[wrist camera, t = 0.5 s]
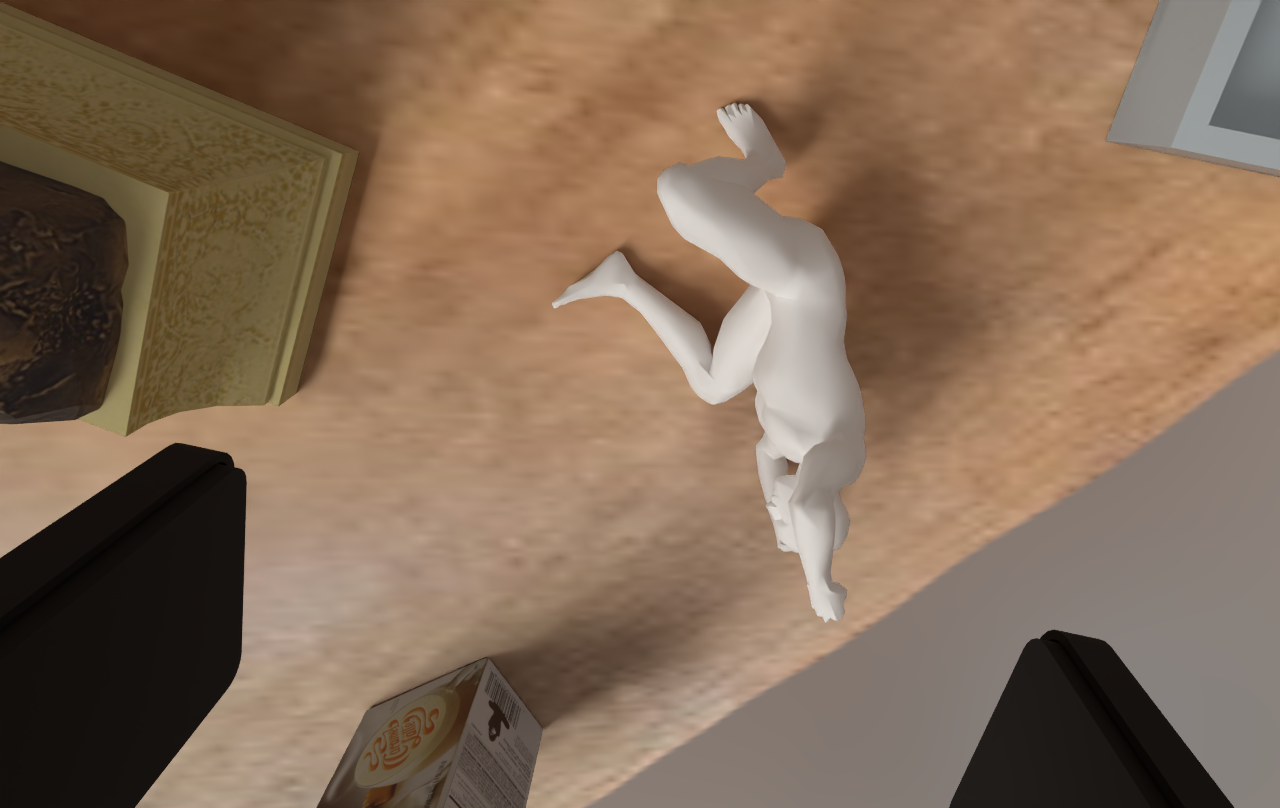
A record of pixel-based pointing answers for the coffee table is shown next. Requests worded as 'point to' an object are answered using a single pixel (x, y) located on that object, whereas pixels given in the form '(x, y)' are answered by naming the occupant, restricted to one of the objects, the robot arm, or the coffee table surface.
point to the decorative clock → (151, 237)
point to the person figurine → (764, 340)
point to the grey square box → (1207, 85)
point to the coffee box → (441, 747)
